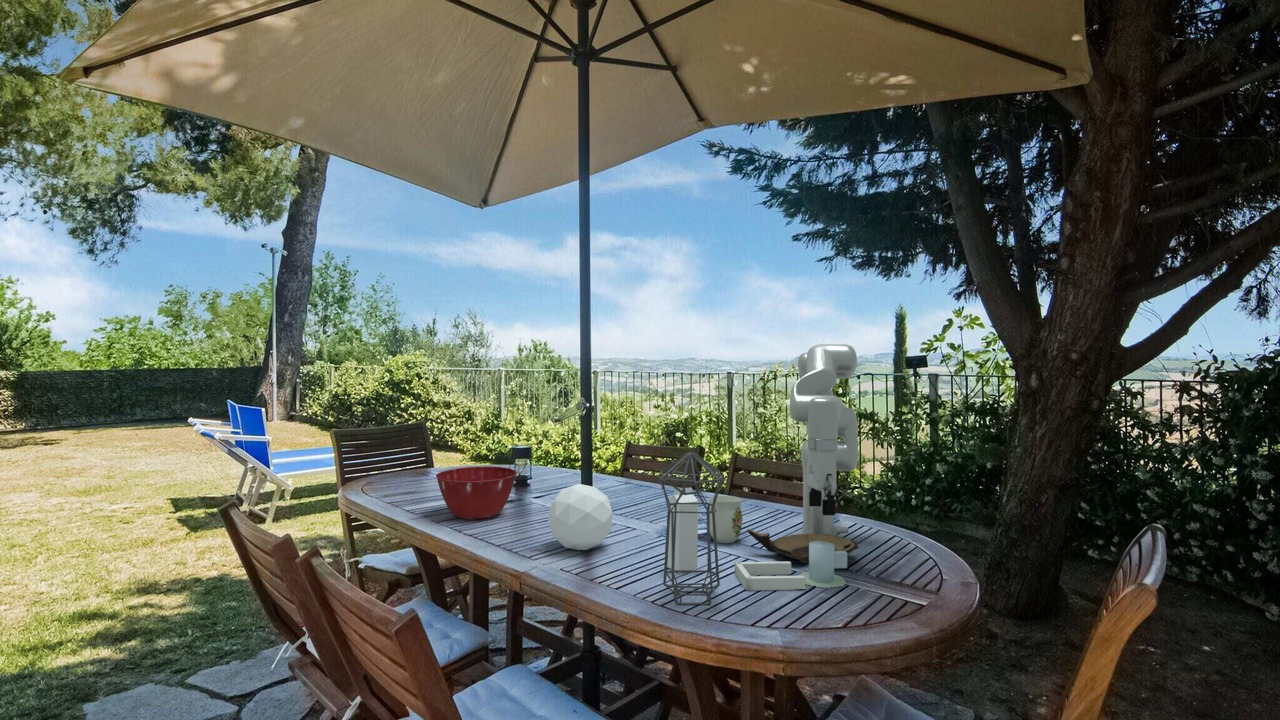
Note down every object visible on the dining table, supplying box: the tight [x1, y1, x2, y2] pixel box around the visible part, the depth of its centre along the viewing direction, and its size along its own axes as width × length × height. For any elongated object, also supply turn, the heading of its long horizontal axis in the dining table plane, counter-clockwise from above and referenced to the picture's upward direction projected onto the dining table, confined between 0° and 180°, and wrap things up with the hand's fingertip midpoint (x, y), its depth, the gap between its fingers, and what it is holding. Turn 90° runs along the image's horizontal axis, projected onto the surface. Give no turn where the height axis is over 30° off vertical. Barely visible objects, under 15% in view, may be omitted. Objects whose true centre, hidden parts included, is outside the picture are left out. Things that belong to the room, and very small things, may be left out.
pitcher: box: [708, 495, 743, 544], centre depth 209 cm, size 11×18×14 cm, turn 148°
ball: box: [547, 483, 614, 551], centre depth 198 cm, size 19×20×20 cm
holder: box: [734, 561, 806, 592], centre depth 170 cm, size 15×13×3 cm
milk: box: [667, 487, 699, 574], centre depth 179 cm, size 6×6×22 cm
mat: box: [797, 571, 846, 589], centre depth 171 cm, size 12×12×1 cm
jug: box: [808, 541, 848, 583], centre depth 171 cm, size 10×6×9 cm, turn 94°
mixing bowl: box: [435, 466, 518, 520], centre depth 237 cm, size 28×28×16 cm
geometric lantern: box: [658, 451, 727, 606], centre depth 158 cm, size 16×16×35 cm
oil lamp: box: [746, 528, 860, 563], centre depth 191 cm, size 22×30×8 cm
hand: (821, 510), depth 171 cm, fingers open, 9 cm apart
